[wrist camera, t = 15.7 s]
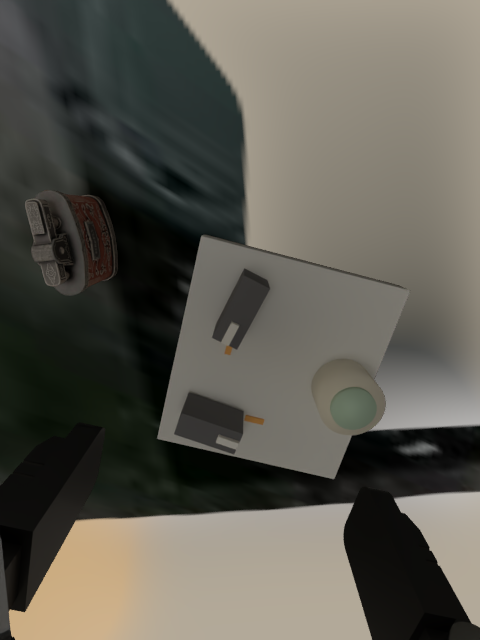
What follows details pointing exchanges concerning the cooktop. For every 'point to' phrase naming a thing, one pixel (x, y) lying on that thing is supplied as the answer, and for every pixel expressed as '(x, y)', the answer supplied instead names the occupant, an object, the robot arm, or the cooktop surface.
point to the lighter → (72, 240)
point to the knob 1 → (210, 423)
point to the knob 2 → (241, 309)
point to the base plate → (286, 356)
